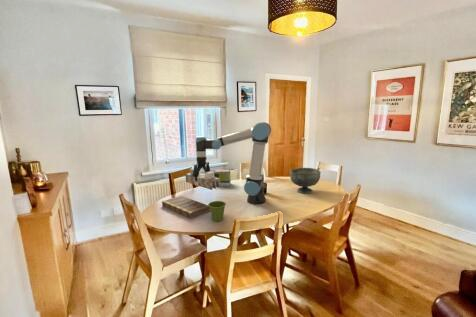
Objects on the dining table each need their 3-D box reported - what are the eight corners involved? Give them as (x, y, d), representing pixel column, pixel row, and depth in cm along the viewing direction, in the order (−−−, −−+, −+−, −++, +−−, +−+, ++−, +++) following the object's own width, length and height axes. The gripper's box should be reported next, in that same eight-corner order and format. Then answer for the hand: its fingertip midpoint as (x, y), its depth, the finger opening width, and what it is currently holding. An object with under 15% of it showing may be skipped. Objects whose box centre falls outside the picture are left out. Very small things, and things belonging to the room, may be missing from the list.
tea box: (230, 183, 255) (230, 169, 252) (229, 186, 245) (229, 171, 242) (216, 183, 256) (215, 169, 254) (214, 186, 247) (213, 171, 244)
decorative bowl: (326, 192, 222) (326, 170, 219) (307, 198, 208) (307, 175, 205) (303, 186, 244) (303, 166, 241) (284, 191, 230) (284, 170, 227)
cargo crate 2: (214, 177, 192) (214, 172, 191) (209, 179, 188) (209, 173, 187) (210, 176, 195) (209, 171, 194) (205, 178, 191) (204, 172, 190)
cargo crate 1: (199, 174, 204) (198, 168, 203) (194, 175, 200) (193, 169, 200) (195, 173, 207) (195, 167, 207) (190, 174, 204) (190, 168, 203)
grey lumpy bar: (219, 187, 191) (219, 178, 190) (211, 189, 185) (210, 180, 184) (194, 179, 213) (194, 171, 212) (185, 181, 206) (185, 173, 205)
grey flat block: (210, 211, 184) (210, 205, 183) (190, 218, 171) (190, 213, 170) (181, 200, 207) (181, 195, 207) (162, 206, 194) (161, 201, 194)
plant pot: (212, 215, 176) (212, 200, 174) (228, 217, 173) (228, 201, 171) (205, 222, 165) (205, 206, 163) (222, 224, 162) (222, 208, 160)
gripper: (208, 154, 205) (209, 180, 209) (186, 157, 189) (188, 185, 194) (214, 155, 200) (215, 181, 204) (192, 158, 184) (194, 187, 189)
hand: (202, 183), depth 199 cm, fingers closed on grey lumpy bar, 9 cm apart
